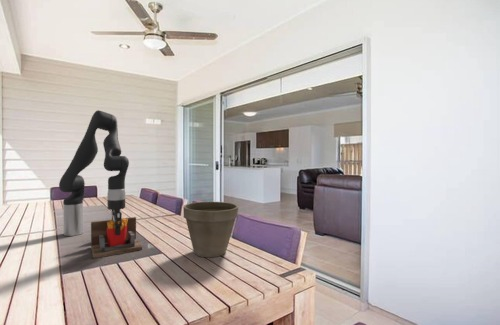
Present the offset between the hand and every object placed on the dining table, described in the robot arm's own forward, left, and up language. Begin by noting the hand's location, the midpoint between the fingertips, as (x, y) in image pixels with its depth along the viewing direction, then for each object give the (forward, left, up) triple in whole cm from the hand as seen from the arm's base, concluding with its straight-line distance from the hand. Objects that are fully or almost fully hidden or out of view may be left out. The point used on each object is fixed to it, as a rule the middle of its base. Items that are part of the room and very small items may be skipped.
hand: (116, 232), depth 127 cm
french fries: (0, 0, -7) cm, 7 cm away
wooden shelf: (-2, 0, -8) cm, 8 cm away
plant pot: (+27, +36, -8) cm, 46 cm away
